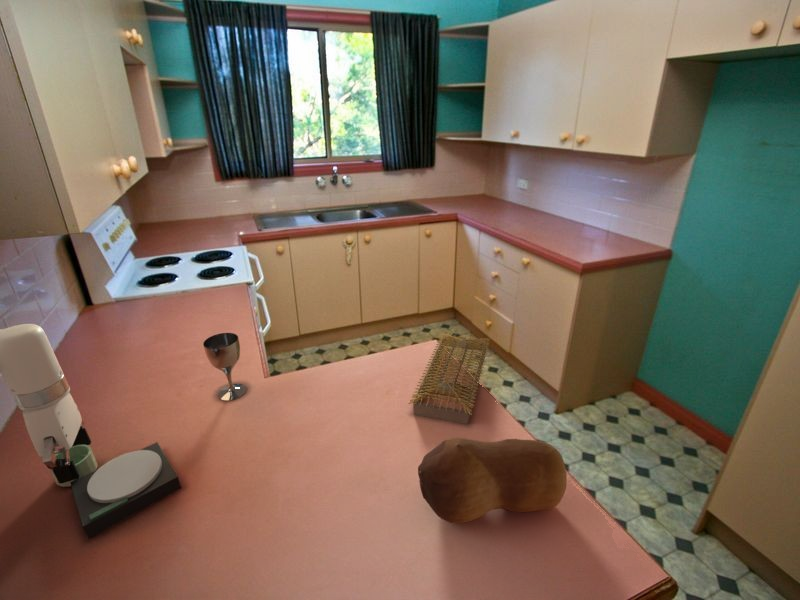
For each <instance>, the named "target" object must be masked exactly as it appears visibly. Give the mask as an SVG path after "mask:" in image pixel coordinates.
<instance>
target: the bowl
mask: <svg viewBox="0 0 800 600" xmlns="http://www.w3.org/2000/svg"><path fill="white" fill-rule="evenodd" d="M69 456H70V461H72V460H73V462H74V464H75V466H76V468H77V470H78V472H79V474H80V476H79V478H81V477H83V476H85V475H87V474H89V473H91V472H93V471H96V470H98V465H99V464H98V462H97V460H96V457H95V454H94V452H93V450H92V447H91V446H90V445H75V446H72V447H71V448H70V449H69ZM55 457H56V459H63V452H61V453H58V454H55ZM49 471H50V473H51V475H52V477H53V479H54V481H55V484H56V485H57V486H59V487H71V483H70V482H72V481H74V480H72V481H69V482H65V483H62V484H60V483H59V482H58V480H57V478H56V476H55V474H54V472H53V471H52V470H50V469H49ZM75 480H76V479H75Z"/></svg>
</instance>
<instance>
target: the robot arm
mask: <svg viewBox="0 0 800 600" xmlns="http://www.w3.org/2000/svg"><path fill="white" fill-rule="evenodd" d="M0 374H1V376H2V378H3V380H4V382H5V383H6V386H7V388H8V390H9V392H10V393H11V395H12V397H13V399H14V401H15V403H16V405H17V407H18V408H19V409H20V410H21V411H22V416H23V420H24V425H25V428H26V430H27V433H28V435H29V437H30V440H31V442H32V444H33V447H34V449H35V451H36V453H37V455H38V456H39V457H40V458H42V459H41V460H42V464H43V465H45V466H46V468H47V469H48V470H49V471H50V470H52V471H53V472H54V474H55V476H56V478H57V480H58V482H59V483H60V484H62V483H65V482H69V481H72V480H75V479H78V478H79V476H80V474H79V472H78V470H77V468H76V466H75V464H74V462H73V460H72V461H70V456H69V449H70V448H71V447H72V446H75V445H88V446H90V445H91V444H92V439H91V437H90V435H89V433H88V430H87V429H86V427H85V423H84V421H83V420H82V419H83V418H82V415H81V412H80V410H79V408H78V404H77V402H75V399H74V398H73V396H72V394H71V393H70V391H71V387H70V385H69V382H68V381H67V377H66V376H65V374H64V371H63V369H62V367H61V365H60V362H59V361H58V358H57V356H56V354H55V352H54V349H53V347H52V345H51V343H50V340H49V338H48V336H47V334H46V332H45V330H44V329H43V327H41V326H40V325H38V324H34V323H23V324H17V325H13V326H8V327H6V328H0ZM57 447H61V448H58V449H56V448H57ZM61 452H63V459H56V457H55V455H56V454H58V453H61Z"/></svg>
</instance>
